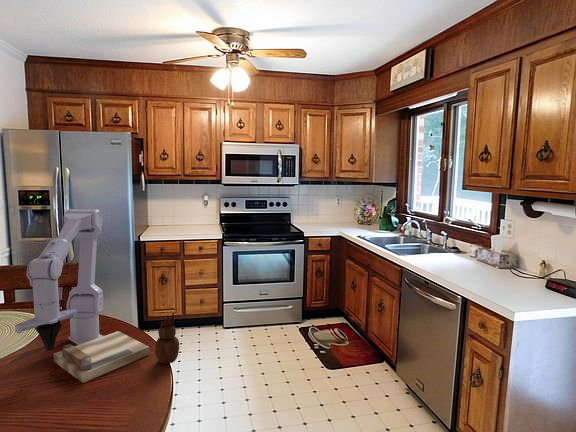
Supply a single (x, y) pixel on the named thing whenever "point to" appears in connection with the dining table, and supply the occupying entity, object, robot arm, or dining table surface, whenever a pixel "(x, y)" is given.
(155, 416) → the dining table surface
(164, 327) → the wooden figurine
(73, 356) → the walnut leg
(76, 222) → the robot arm
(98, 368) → the maple seat
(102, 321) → the dining table surface
